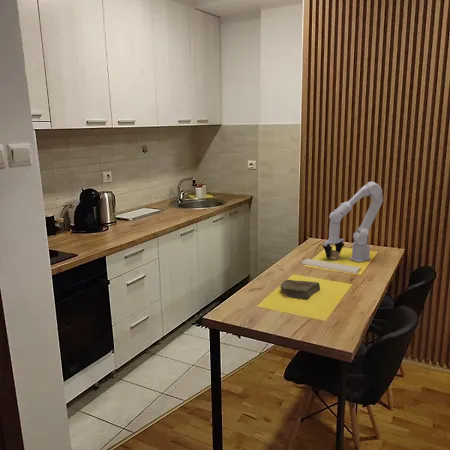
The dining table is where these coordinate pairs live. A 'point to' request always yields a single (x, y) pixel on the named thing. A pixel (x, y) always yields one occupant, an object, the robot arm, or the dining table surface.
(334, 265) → the baseboard
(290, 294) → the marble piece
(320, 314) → the dining table surface
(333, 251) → the block
